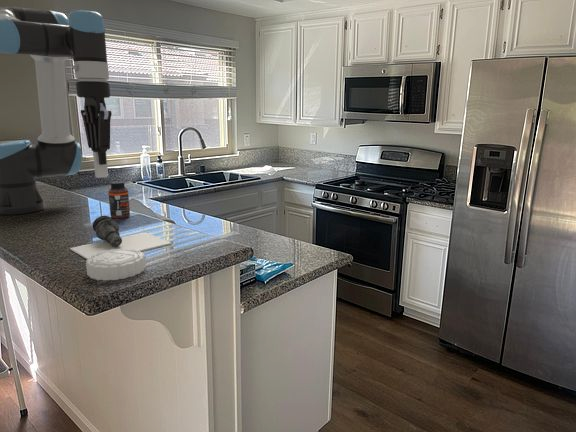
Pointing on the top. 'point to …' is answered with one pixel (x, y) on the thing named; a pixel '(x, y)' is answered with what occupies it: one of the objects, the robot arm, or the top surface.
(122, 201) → the supplement bottle
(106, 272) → the mooncake
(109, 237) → the salt shaker
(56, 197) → the top surface
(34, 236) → the top surface
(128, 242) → the board
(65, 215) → the top surface
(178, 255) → the top surface
